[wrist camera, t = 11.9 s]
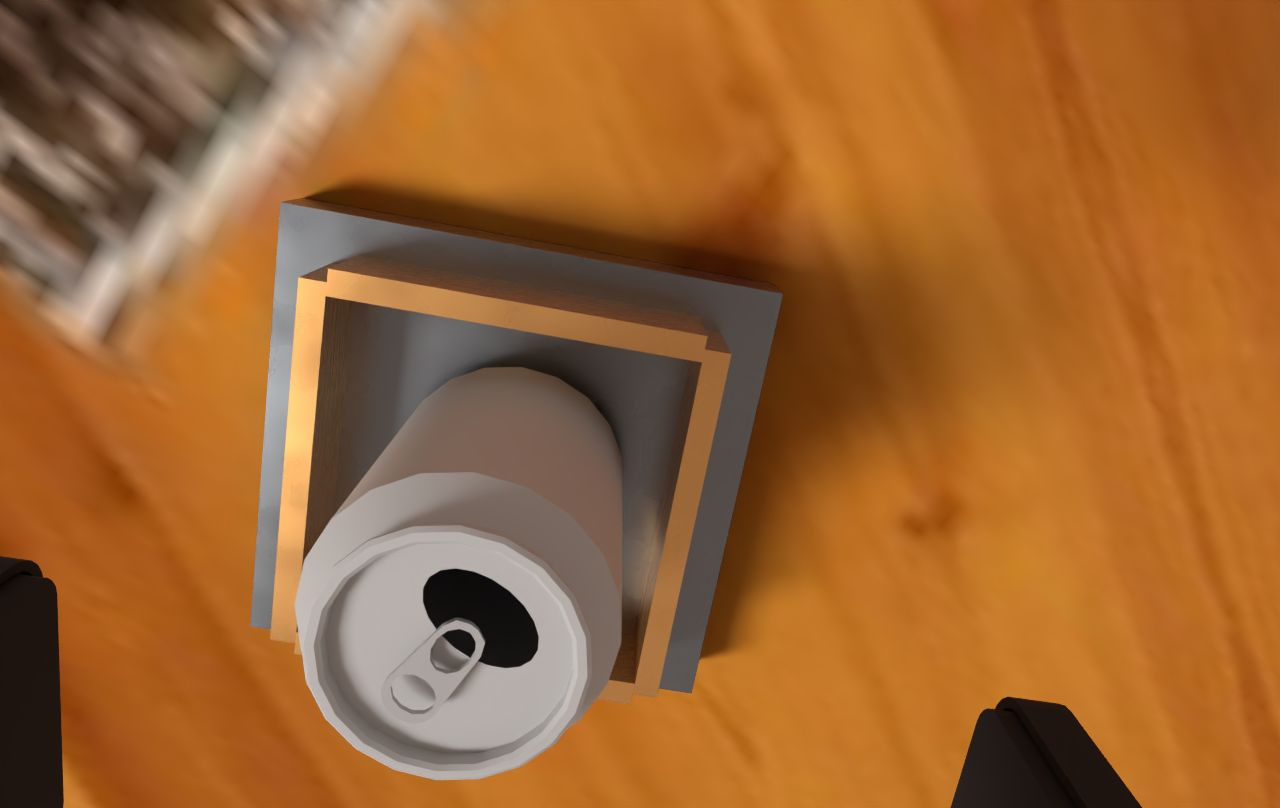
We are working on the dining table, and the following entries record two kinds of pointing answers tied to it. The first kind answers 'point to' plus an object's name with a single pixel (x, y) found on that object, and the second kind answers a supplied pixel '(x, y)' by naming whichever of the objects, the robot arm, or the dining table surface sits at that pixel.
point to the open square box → (513, 337)
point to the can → (471, 580)
